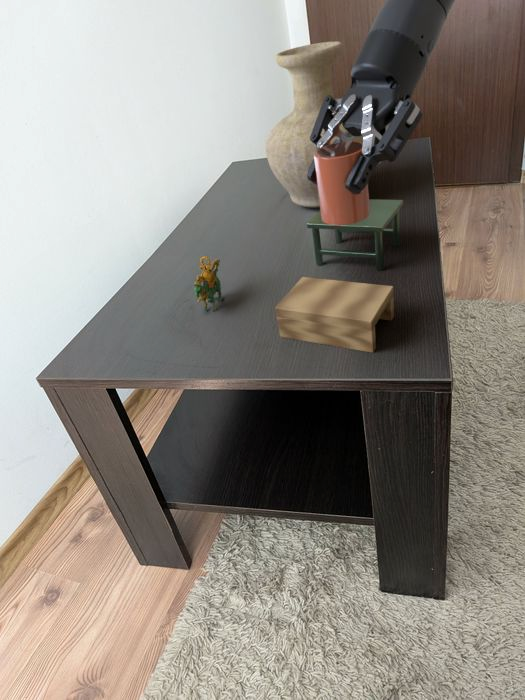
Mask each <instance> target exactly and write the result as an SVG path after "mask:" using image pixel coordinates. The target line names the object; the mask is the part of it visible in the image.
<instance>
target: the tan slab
mask: <svg viewBox="0 0 525 700" xmlns="http://www.w3.org/2000/svg"><path fill="white" fill-rule="evenodd" d="M394 300H395V298H394V286H393V285H384V284H374V283H366V282H365V283H364V282H355V281H346V280H336V279H328V278H327V279H326V278H318V277H317V278H316V277H308V276H307V277H306V276H302V277H301V278H300V279H299V280H298V281H297V282H296V283H295V285H294V286H293V287H292V288H291V289H290V290H289V291H288V293H287V294H286V295H285V296H284V297H283V298H282V299H281V301H280V302H279V303H278V304H277V305H276V306H275V308H274V310H275V315H276V321H277V326H278V331H279V337H280V338H283V339H290V340H296V341H302V342H307V343H314V344H320V345H324V346H325V345H326V346H330V347H331V346H332V347H337V348H343V349H349V350H355V351H361V352H367V353H372V354H374V352H375V350H376V348H377V342H376V341H377V340H376V325H377V324H378V321H379V320H384V321H393V319H394V317H395V301H394Z"/></svg>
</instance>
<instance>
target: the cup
mask: <svg viewBox="0 0 525 700" xmlns="http://www.w3.org/2000/svg"><path fill="white" fill-rule="evenodd" d="M362 146H363V143H361V142H355V141H348V142H339V143H334V144H330V145H326V146H324V147H321V148H319V149H318V150H316V151H315V152H314V163H315V171H316V179H317V187H318V196H319V204H320V207H319V211H320V212H321V219H322V221H323V222H324V223H326V224H330V225H348V224H353V223H357V222H359V221H362V220H364V219H365V218H367V217H368V216H369V214H370V202H369V199H370V189H369V182H368V183H367V185H366V187H365V188H364V189H363V190H362V191H361V193H360V194H353V193H352V192H350V191H349V190H348V189H346V187H345V183H346V181H347V179H348V176H349V174H350V172H351V170H352V168H353V166H354V164H355V162H356V160H357V158H358V156H359V155H360V156H363V154H362Z"/></svg>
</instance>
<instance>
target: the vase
mask: <svg viewBox="0 0 525 700" xmlns="http://www.w3.org/2000/svg"><path fill="white" fill-rule="evenodd" d="M343 47H344V45H343V43H342V42H341V41H335V40H334V41H324V42H323V41H322V42H317V43H312V44H306V45H305V44H304V45H301V46H297V47H292V48H289V49H286V50H283V51H281V52H278V53H277V54H275V62H276V64H277V65H278V67H280V68H283V69H285V70H287V71H288V73H289V75H290V78H291V87H292V93H293V95H292V96H293V109H292V111H291V112H290V113H289V114H287V116H285V117H284V118H282V119H281V120H280V121H278V122H277V123H276V124H275V125H274V126H273V128H272V129H271V130H270V131H269V132H268V134H267V136H266V138H265V139H266V140H265V154H266V158H267V162H268V165H269V167H270V169H271V171H272V173H273V175H274V176H275V177H276V179H277V181H278V182H279V183H280V184H281V185H282V187H283V188H284V189H285V190H286V191H287V193H288V195H289V196H290V200H291V201H292V202H293V203H294V204H295V205H297V206H300V207H305V208H320V204H319V196H318V187H317V185H316V184H314V183H313V182H311V181H310V180H308V178H307V173H308V169H309V167H310V166H311V163H312V161H313V159H314V152H315V151H316V150H317V146H316V145H315V144H314V143H313V142H312V141H310V136H311V133H312V130H313V128H314V125H315V122H316V119H317V117H318V114H319V111H320V109H321V106H322V103H323V100H324V98H325V97H326V96H327V95H331V96H332V97H333V98H334V99H335V96H334V95H335V93H334V87H333V77H332V76H333V75H332V64H333V62H334V61H335V59H337V58H338V57H339V56H340V55H341V54H342V51H343ZM339 129H340V130H342V131H343V132H347V130H346V129H345V128H344V127H343V125H342V124H341V125H340V127H339ZM323 135H324V129H323V130H322V132H321V136H323ZM337 138H338V137H337V136H335V137H334V138H333V139H332V140H331V142H330V144H333V143H334V142H335V140H336V139H337ZM352 141H355V142H361V143H363V136H358V137H357V136H356V137H355V138H354V139H353V140H352Z"/></svg>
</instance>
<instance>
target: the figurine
mask: <svg viewBox="0 0 525 700" xmlns="http://www.w3.org/2000/svg"><path fill="white" fill-rule="evenodd" d="M204 260H206V261H207V263H204ZM220 261H221V259H220V258H218V259H217V258H216V259H215V260H214V261H212V262H211V260H210V258H209V257H208V256H202V257H201V258H200V259H199V262H200V264H201V265H200V266H199V267H198V269H199V270H200V271H202V270H203V271H202V272H201V274H200V275H197V276H196V282H193V286H194V287H193V291H194V293H195V294H194V297H195V299H198V300H197V301H196V304H199V303H200V302H201V301H202V302H203V306H204V308H203V309H202V311H205V312H207V311H208V303H209V302H210V303H211V306H212V308H211V312H214V311H216V310H217V309H216V302H222V301H223V299H222V288H221V287H222V286H221V280H220V279H219V277H218V276H217V275H218V274H217V273H218V271H219V269H218V268H219V266H220ZM216 294H217V296H218V297H217V299H215V297H214V296H215V295H216ZM215 300H216V301H215Z"/></svg>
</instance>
